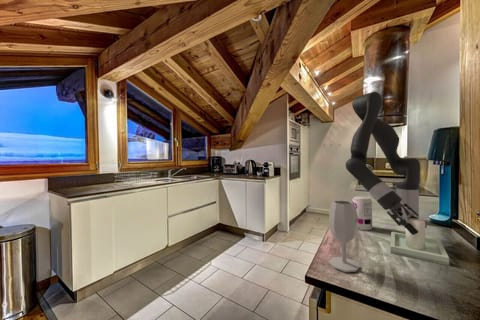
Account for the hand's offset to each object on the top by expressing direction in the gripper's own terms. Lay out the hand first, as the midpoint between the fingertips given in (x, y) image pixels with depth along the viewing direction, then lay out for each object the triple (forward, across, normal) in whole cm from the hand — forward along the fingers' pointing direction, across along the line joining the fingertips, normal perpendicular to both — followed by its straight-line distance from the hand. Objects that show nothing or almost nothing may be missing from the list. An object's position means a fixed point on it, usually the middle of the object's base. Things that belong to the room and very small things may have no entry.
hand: (420, 231), depth 75 cm
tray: (+4, 0, +6) cm, 8 cm away
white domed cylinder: (+3, 0, +6) cm, 6 cm away
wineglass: (-2, -32, +13) cm, 34 cm away
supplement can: (-12, +8, +23) cm, 27 cm away
